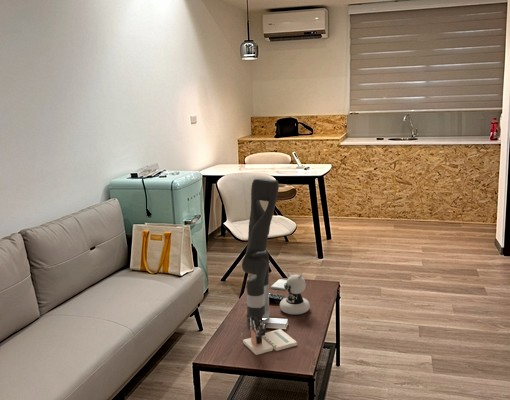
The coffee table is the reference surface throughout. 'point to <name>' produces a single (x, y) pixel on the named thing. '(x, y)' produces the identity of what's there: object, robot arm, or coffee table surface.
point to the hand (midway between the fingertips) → (256, 341)
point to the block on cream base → (255, 347)
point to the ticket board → (279, 339)
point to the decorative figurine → (295, 296)
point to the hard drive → (279, 284)
